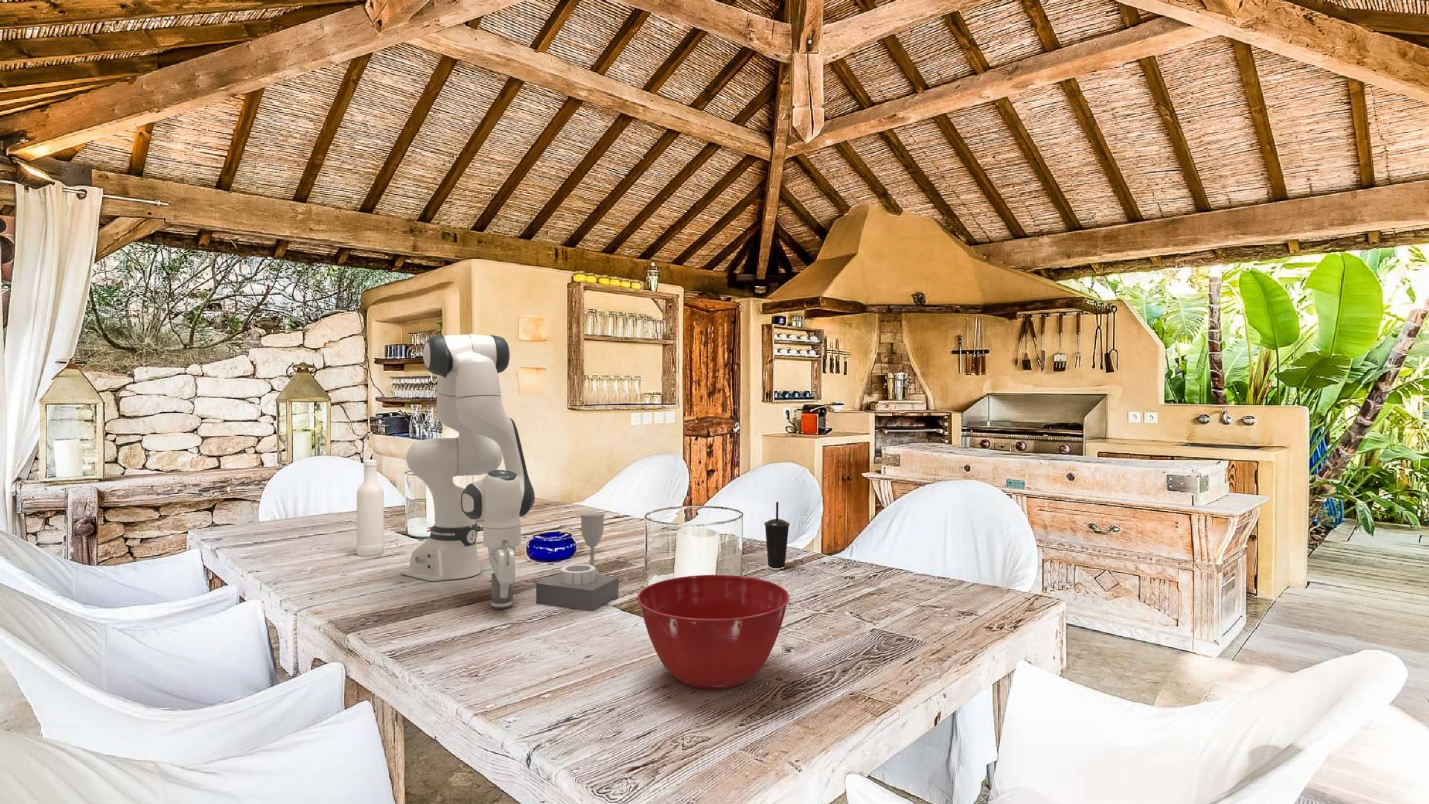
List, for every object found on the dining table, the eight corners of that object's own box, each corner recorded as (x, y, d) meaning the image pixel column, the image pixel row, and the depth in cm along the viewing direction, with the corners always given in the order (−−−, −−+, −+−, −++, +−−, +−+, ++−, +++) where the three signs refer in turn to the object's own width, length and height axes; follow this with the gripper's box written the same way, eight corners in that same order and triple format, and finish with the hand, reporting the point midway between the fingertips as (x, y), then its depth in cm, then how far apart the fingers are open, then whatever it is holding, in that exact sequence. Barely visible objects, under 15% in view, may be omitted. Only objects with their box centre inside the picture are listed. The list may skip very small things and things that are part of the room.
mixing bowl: (667, 720, 117) (668, 625, 116) (618, 659, 143) (619, 581, 142) (817, 692, 128) (818, 606, 128) (746, 640, 154) (747, 568, 154)
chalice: (607, 574, 207) (608, 512, 206) (601, 581, 200) (602, 516, 200) (582, 574, 207) (583, 511, 207) (576, 580, 201) (576, 515, 200)
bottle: (350, 555, 227) (350, 460, 226) (366, 550, 235) (366, 458, 234) (373, 557, 226) (373, 461, 225) (389, 551, 233) (389, 459, 233)
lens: (486, 608, 175) (486, 575, 175) (500, 602, 179) (500, 570, 179) (504, 610, 173) (504, 577, 173) (517, 604, 178) (517, 572, 177)
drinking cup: (790, 571, 212) (791, 504, 212) (764, 571, 212) (765, 503, 212) (788, 565, 220) (788, 500, 219) (763, 565, 220) (763, 499, 219)
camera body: (536, 603, 179) (536, 571, 179) (565, 589, 191) (565, 559, 191) (591, 611, 173) (592, 577, 173) (618, 596, 185) (618, 565, 185)
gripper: (521, 545, 167) (521, 604, 168) (509, 529, 186) (509, 582, 187) (493, 547, 165) (493, 607, 165) (484, 530, 184) (484, 584, 184)
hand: (502, 593), depth 176 cm, fingers closed on lens, 5 cm apart
